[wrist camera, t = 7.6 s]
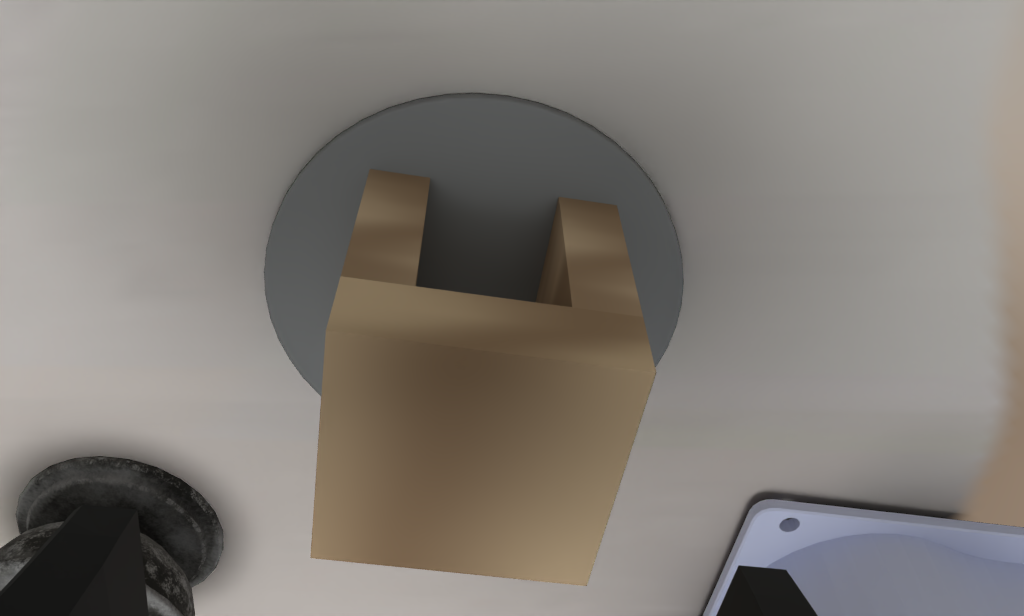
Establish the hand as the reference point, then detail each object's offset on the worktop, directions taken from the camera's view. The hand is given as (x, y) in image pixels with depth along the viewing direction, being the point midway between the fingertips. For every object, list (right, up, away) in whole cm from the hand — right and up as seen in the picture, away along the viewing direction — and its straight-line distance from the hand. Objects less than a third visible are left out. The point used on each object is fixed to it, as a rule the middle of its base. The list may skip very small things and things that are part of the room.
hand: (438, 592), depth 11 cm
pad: (0, +4, +9) cm, 10 cm away
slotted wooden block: (0, +4, +8) cm, 9 cm away
